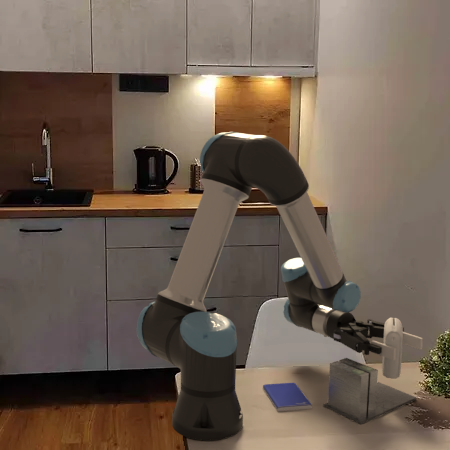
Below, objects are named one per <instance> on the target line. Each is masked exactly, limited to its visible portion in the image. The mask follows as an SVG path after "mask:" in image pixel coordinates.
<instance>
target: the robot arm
mask: <svg viewBox="0 0 450 450" xmlns="http://www.w3.org/2000/svg"><path fill="white" fill-rule="evenodd" d="M200 151H201V152H200V155H199V164H200V170H201V172H202V176H201V179H200V182H201V184H202V187H203V189H204V190H203V193H202V195H201V198H200V200H199V203H198V206H197V209H196V211H195V213H194V217H193V219H192V222H191V225H190V227H189V230H188V232H187V235H186V238H185V241H184V243H183V245H182V248H181V251H180V254H179V256H178V259H177V261H176V264H175V267H174V269H173V272H172V275H171V276H170V277H171V278H170V281H169V282H168V285H167V287H166V288H165V289H163V290H161V291H158V293H157V296H156V298H155V300H154V301H152V302H150V303H148V305H147V306H144V307H143V309H142V310H141V311H140V313H139V315H138V318H137V322H136V336H137V338H138V341H139V343H140V345H141V346H142V347H143V348H144V349H145V350H146V351H148V352H149V353H150V354H151V355H152V356H154V357H156V358H159V359H161V360H164V361H165V362H167V363H169V364H171V365H172V366H174V367H176V368H178V369H180V390H179V394H178V396H177V400H176V404H175V407H174V409H173V411H172V414H171V415H172V416H171V418H172V419H171V425H172V427H173V430H174V431H175V432H176V433H177V434H179V435H180V436H182V437H185V438H187V439H190V440H197V441H221V440H224V439H228V438H230V437H233V436H235V435H236V434H238V433H239V432H240V431H241V430H242V428H243V426H244V425H243V424H244V414H243V410H242V408H241V404H240V402H239V399H238V398H239V397H238V395H237V390H236V377H237V373H236V371H237V368H236V367H237V347H238V338H237V329H236V326H235V324H234V322H233V321H232V320H231V319H230V318H229V317H226V316H225V315H222V314H219V313H217V312H214V313H211V312H210V311H207V308H206V306H205V304H204V299H205V297H206V294H207V291H208V289H209V285H210V284H211V280H212V277H213V275H214V273H215V269H216V267H217V264H218V262H219V259H220V258H221V257H220V256H221V254H222V250H223V248H224V246H225V242H226V239H227V237H228V235H229V232H230V229H231V227H232V224H233V221H234V218H235V216H236V213H237V210H238V207H239V205H240V203H241V202H243V201H246V200H248V199H249V198H250V194H251V191H252V189H253V188H254V189H257V190H259V191H260V192H262V193H263V194H264V195H265V197H266V199H267V201H268V203H269V204H270V205H271V206H273V207H275V208H276V209H277V211H278V214H279V215H280V217H281V220H282V221H283V223H284V226H285V227H286V229H287V231H288V233H289V236H290V238H291V240H292V242H293V244H294V246H295V248H296V250H297V252H298V255H299V256H300V257H294V258H293V257H292V258H290V259H288V260H286V261H285V262H283V264H281V267H280V272H281V273H280V274H281V278H282V280H281V281H282V282H283V286H284V290H285V291H286V295H287V300H286V301H285V303H284V305H283V309H284V310H283V311H282V313H283V317H284V318H285V320H286V321H287V322H288V323H291V324H292V325H294V326H297V327H298V328H303V329H306V330H308V331H312V332H314V333H317V334H320V335H323V337H325V338H327V337H328V338H330V339H332V340H333V341H335V342H338V343H340V344H342V345H344V346H346V347H347V348H349V349H351V350H352V351H355V353H359V354H360V353H361V354H362V353H363V355H365V356H369V355H370V353H372V354H375V355H379V356H380V357H382V358H383V357H386V358H389V359H391V360H395V359H396V348H394V347H391V346H389V345H386V344H383V343H382V342H380V341H377V340H374V339H372V338H377V339H378V338H379V339H384V325H385V322H380V321H376V320H373V319H371V318H370V319H369V318H368V319H367V322H363V321H362V320H356V318H355V317H354V315H353V314H352V313H351V312H352V311H354V310H355V309H357V307H358V305H359V303H360V302H361V295H362V293H361V292H362V291H361V288H360V286H359V285H358V284H357V283H355V282H353V281H351V280H348V279H346V277H345V274H344V272H343V270H342V268H341V265H340V262H339V261H338V258H337V256H336V253H335V252H334V250H333V247H332V245H331V242H330V241H329V239H328V236H327V233H326V231H325V229H324V227H323V225H322V222H321V220H320V218H319V216H318V213H317V211H316V209H315V207H314V205H313V202H312V200H311V198H310V195H309V193H308V191H309V189H310V185H309V182H308V180H307V177H306V176H305V173H304V171H303V169H302V168H301V166H300V165H299V163H298V161H297V159H296V158H295V157H294V156H293V154H292V153H291V152H290V150H289V149H288V148H287V147H285V145H284V144H282V143H281V142H280V141H279V140H277V139H276V138H273V137H271V136H267V135H263V134H250V133H242V132H237V131H229V132H225V131H224V132H220V133H216V134H215V135H212V137H210V138H209V139H208V140H207V141H206V142H205V144H204V145H203V147H202V149H201V150H200ZM369 339H372V340H369ZM423 341H424V338H423V337H420V336H418V335H414V334H411V333H408V332H405V327H403V341H402V345H405V346H408V347H411V348H413V349H417V350H419V351H421V350H423V344H424V342H423Z"/></svg>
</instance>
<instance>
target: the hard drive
mask: <svg viewBox="0 0 450 450" xmlns="http://www.w3.org/2000/svg"><path fill="white" fill-rule="evenodd" d="M262 389H263V391H264V393H265V394H266V395H267V397H268V399H269V400H270V402H271V403H272V405H273V407H274V408H275V410H276V411H277V412H282V411H284V412H285V411H296V410H297V411H298V410H308V409H313V404H312V403H311V401H310V400H309V399H308V397H307V396H305V394H304V392H303V391H302V390H301V388H299V386H298V385H297V384H296V382H282V383H271V384H268V383H267V384H266V383H265V384H263V385H262Z"/></svg>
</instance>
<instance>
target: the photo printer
mask: <svg viewBox="0 0 450 450" xmlns="http://www.w3.org/2000/svg"><path fill="white" fill-rule="evenodd" d="M384 323H385V325H384V338H383V341H382V342H383V344H386V345H389V346H391V347H394V348H396V359H395V360H391V359H389V358H386V357H383V356H382V362H381V363H382V365H381V366H382V367H381V368H382V375H383V377H385V378H387V379H397V378H400V377H401V370H402V358H403V357H402V356H403V355H402V354H403V344H402V341H403V328H404V327H403V324H402V322H401V320H400V319H399V318H397V317H389V318H388V319H386V320H385V322H384Z"/></svg>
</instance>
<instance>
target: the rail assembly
mask: <svg viewBox="0 0 450 450" xmlns="http://www.w3.org/2000/svg"><path fill="white" fill-rule="evenodd" d="M328 371H329V374H328V375H329V376H328V394H327V395H328V397H327V402H325V403H323V404H322V407H323V408H325V409H327V410H329V411H332V412H334V413H336V414H337V415H340V416H342V417H344V418H346V419H348V420H351V421H353V422H354V423H356V424H359V425H363V424H365V423H368V422H370V421H371V420H373V419H376V418H378V417H379V418H380V417H381V416H382V415H385V414H387V413H390V412H392V411H395V410H397V409H399V408H402V407H403V406H406V405H408V404H410V403H413V402H415V401H417V396H414V395H412V394H409V393H406V392H404V391H402V390H399V389H397V388H394V387H391V386H390V385H387V384H385V383H382V382H379V381H378V375H379V373H378V372H379V370H378V369H376V368H373V367H371V366H370V365H365V364H364V363H361V362H358V361H357V360H353V359H350V358H348V357H344V358H342V359H339V360H335V361H333V362H331V363H329V370H328Z"/></svg>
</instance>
